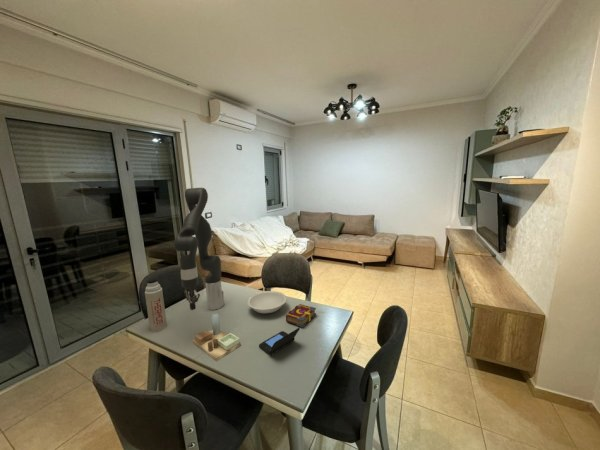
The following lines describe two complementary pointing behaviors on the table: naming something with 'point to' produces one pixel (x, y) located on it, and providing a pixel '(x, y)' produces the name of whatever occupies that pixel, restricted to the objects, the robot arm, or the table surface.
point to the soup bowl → (267, 301)
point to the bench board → (216, 351)
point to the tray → (228, 341)
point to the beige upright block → (203, 337)
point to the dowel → (215, 324)
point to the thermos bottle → (155, 306)
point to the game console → (278, 342)
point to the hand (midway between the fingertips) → (192, 309)
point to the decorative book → (300, 315)
